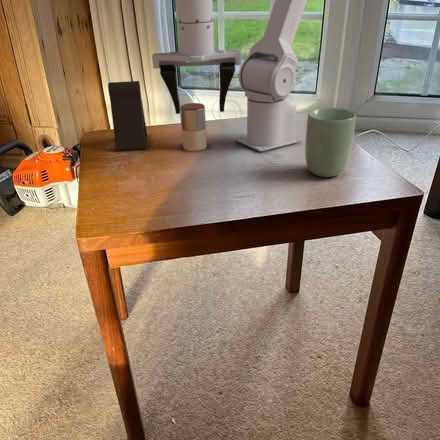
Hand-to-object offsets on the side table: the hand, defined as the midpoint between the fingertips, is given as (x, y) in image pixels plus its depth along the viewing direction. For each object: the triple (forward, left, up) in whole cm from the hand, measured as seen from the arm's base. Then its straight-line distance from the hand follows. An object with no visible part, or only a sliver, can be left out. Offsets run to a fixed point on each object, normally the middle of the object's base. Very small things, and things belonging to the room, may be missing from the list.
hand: (199, 111), depth 79 cm
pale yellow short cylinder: (-4, -9, -9) cm, 13 cm away
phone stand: (+6, -19, -10) cm, 22 cm away
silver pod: (-4, -9, -5) cm, 11 cm away
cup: (-15, +17, -10) cm, 25 cm away
